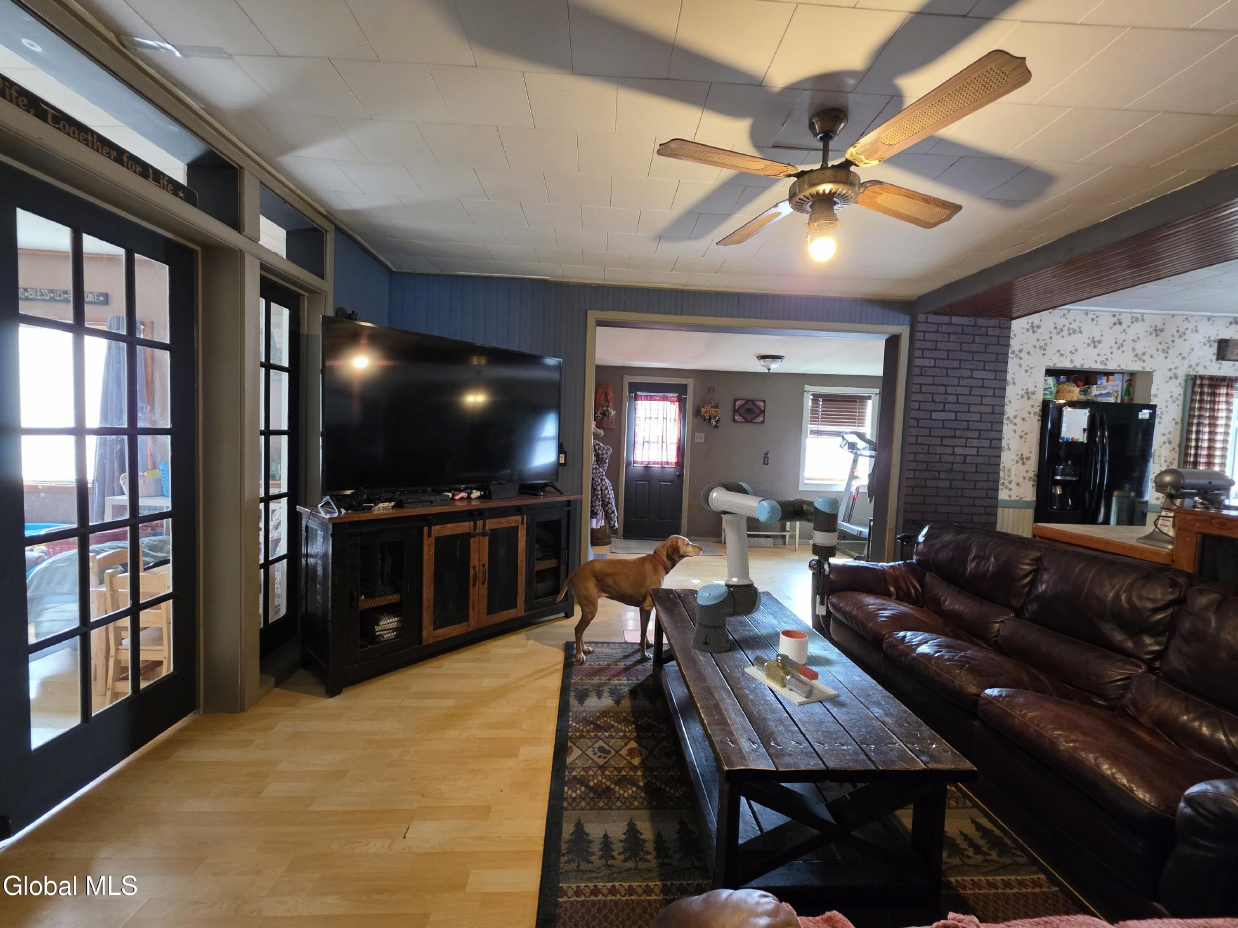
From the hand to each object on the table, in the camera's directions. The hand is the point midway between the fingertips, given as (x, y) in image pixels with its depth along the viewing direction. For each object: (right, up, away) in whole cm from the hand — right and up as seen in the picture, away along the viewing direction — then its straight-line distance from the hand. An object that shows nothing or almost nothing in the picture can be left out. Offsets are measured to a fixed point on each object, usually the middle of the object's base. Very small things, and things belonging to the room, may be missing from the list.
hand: (820, 613), depth 176 cm
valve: (-13, -24, +1) cm, 27 cm away
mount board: (-10, -24, +2) cm, 26 cm away
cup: (-2, -24, +21) cm, 32 cm away
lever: (-10, -16, -5) cm, 20 cm away
